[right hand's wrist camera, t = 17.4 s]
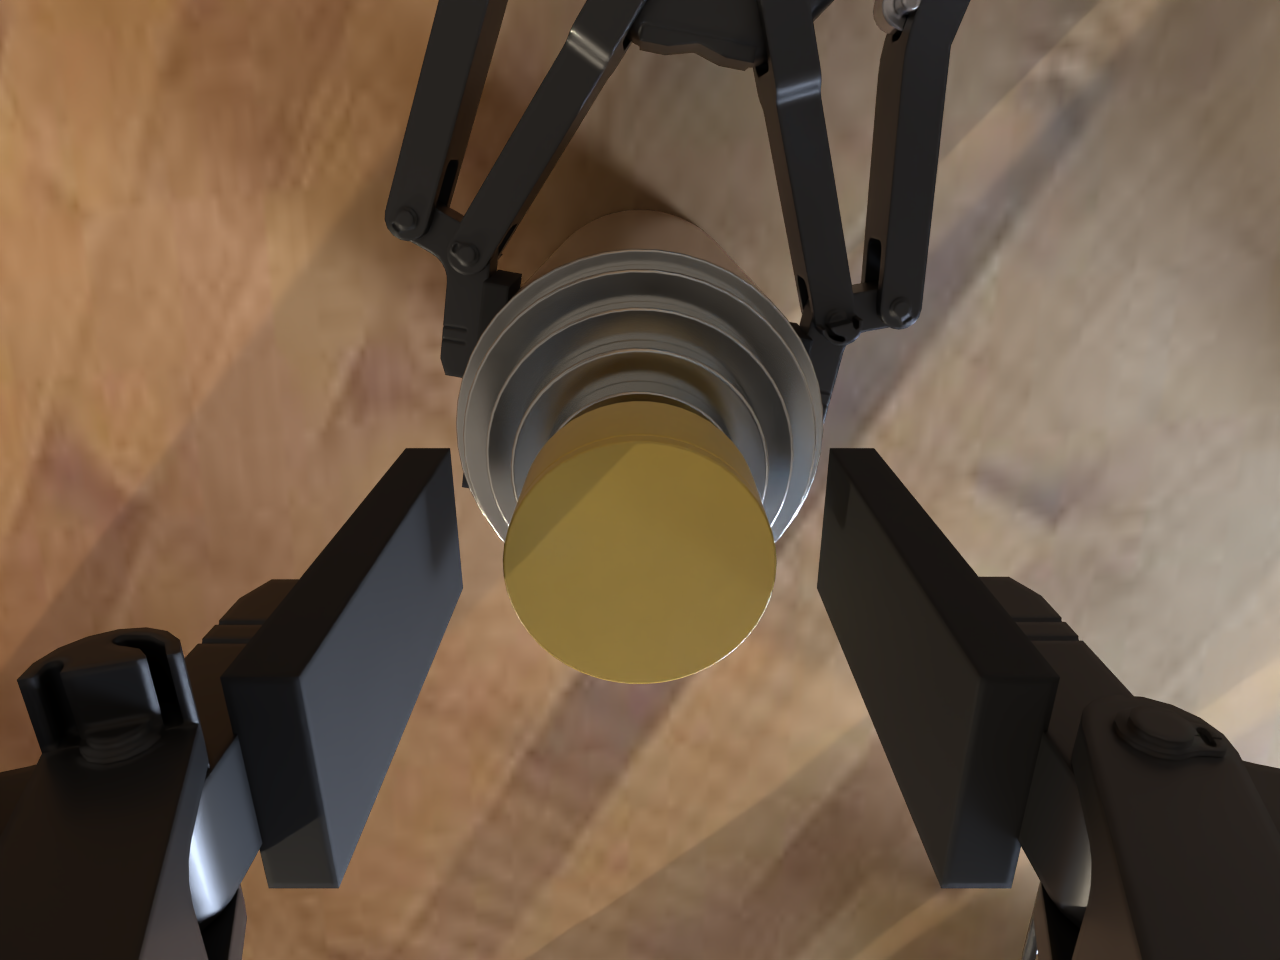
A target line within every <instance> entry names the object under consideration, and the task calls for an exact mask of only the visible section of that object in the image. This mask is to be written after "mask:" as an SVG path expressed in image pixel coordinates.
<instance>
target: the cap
mask: <svg viewBox="0 0 1280 960" xmlns="http://www.w3.org/2000/svg"><path fill="white" fill-rule="evenodd" d="M503 571H504V579H505V584H506V589H507V593H508V596H509V598H510V601H511V604H512V607H513V609H514V610H515V612H516V614H517V616H518V618H519V620H520V622H521V623H522V624H523V626H524V627H525V629H526V630H527V631H528V633H529V634H530V635H531V636H532V637H533V638H534V640H535V641H536V642H537V643H538V644H539V645H540V646H541V647H542V648H544V649H545V650H546V651H547V652H548V653H550V654H551V655H552V656H553V657H555V658H556V659H558V660H560V661H561V662H563V663H564V664H566V665H567V666H570V667H572V668H574V669H576V670H578V671H580V672H582V673H585V674H588V675H590V676H593V677H596V678H600V679H604V680H608V681H613V682H620V683H629V684H650V683H660V682H666V681H671V680H676V679H680V678H683V677H686V676H689V675H692V674H695V673H697V672H699V671H702V670H704V669H706V668H708V667H710V666H712V665H713V664H715V663H717V662H718V661H720V660H722V659H723V658H725V657H726V656H727V655H728V654H730V653H731V652H732V651H733V650H735V649H736V648H737V647H738V646H739V645H740V644H741V643H742V642H743V641H744V640H745V639H746V638H747V637H748V636H749V634H750V633H751V632H752V630H753V629H754V628H755V626H756V625H757V624H758V622H759V620H760V619H761V617H762V615H763V613H764V611H765V610H766V607H767V605H768V602H769V600H770V597H771V594H772V590H773V586H774V582H775V575H776V547H775V542H774V538H773V533H772V530H771V527H770V524H769V521H768V518H767V515H766V513H765V510H764V507H763V504H762V501H761V499H760V496H759V493H758V490H757V487H756V485H755V482H754V479H753V476H752V474H751V471H750V468H749V466H748V465H747V463H746V461H745V459H744V457H743V455H742V454H741V453H740V451H739V450H738V448H737V447H736V446H735V444H734V443H733V442H732V441H731V440H730V439H729V438H728V437H727V436H726V435H725V434H724V433H723V432H722V431H721V430H720V429H718V428H717V427H716V426H714V425H713V424H712V423H710V422H709V421H707V420H705V419H704V418H702V417H700V416H699V415H697V414H695V413H692V412H690V411H687V410H685V409H683V408H680V407H676V406H672V405H669V404H664V403H657V402H650V401H631V402H622V403H615V404H611V405H607V406H603V407H600V408H597V409H595V410H592V411H589V412H587V413H585V414H583V415H581V416H579V417H577V418H576V419H574V420H572V421H571V422H569V423H568V424H566V425H565V426H564V427H562V428H561V429H560V430H559V431H558V432H556V433H555V434H554V435H553V436H552V437H551V438H550V439H549V440H548V441H547V443H546V444H545V445H544V446H543V448H542V449H541V450H540V452H539V453H538V455H537V456H536V458H535V460H534V462H533V463H532V465H531V467H530V470H529V472H528V475H527V477H526V480H525V483H524V485H523V488H522V491H521V494H520V497H519V499H518V502H517V505H516V508H515V511H514V513H513V516H512V519H511V522H510V525H509V527H508V531H507V535H506V539H505V543H504V553H503Z"/></svg>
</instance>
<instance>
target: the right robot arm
mask: <svg viewBox="0 0 1280 960" xmlns="http://www.w3.org/2000/svg"><path fill="white" fill-rule="evenodd" d="M462 589H463V583H462V572H461V561H460V550H459V540H458V529H457V518H456V507H455V497H454V486H453V475H452V464H451V454H450V448H406V449H405V450H404V451H403V453H402V454H401V455H400V456H399V457H398V459H397V460H396V461H395V462H394V464H393V465H392V466H391V467H390V469H389V470H388V471H387V472H386V473H385V475H384V476H383V477H382V478H381V480H380V481H379V482H378V483H377V485H376V486H375V487H374V488H373V489H372V491H371V492H370V493H369V494H368V496H367V497H366V498H365V499H364V501H363V502H362V503H361V504H360V505H359V507H358V508H357V509H356V510H355V512H354V513H353V514H352V515H351V517H350V518H349V519H348V520H347V521H346V523H345V524H344V525H343V526H342V528H341V529H340V530H339V531H338V533H337V534H336V535H335V536H334V537H333V539H332V540H331V541H330V542H329V544H328V545H327V546H326V547H325V549H324V550H323V551H322V552H321V553H320V555H319V556H318V557H317V558H316V560H315V561H314V562H313V563H312V565H311V566H310V567H309V568H308V569H307V571H306V572H305V573H304V574H303V576H302V577H301V578H300V579H272V580H270V581H268V582H267V583H265V584H263V585H261V586H260V587H258V588H256V589H255V590H253V591H251V592H250V593H248V594H246V595H244V596H243V597H241V598H239V599H238V601H237V602H236V603H235V604H234V605H233V606H232V607H231V608H230V609H229V610H228V611H227V613H226V614H225V615H224V616H223V617H222V618H221V619H220V620H219V625H215V626H214V627H213V628H212V629H211V630H210V631H209V632H208V633H207V634H206V636H205V637H204V638H203V639H202V644H197V645H196V646H195V648H194V649H193V650H192V651H191V652H190V653H189V654H188V655H187V656H186V657H185V659H184V655H183V651H182V647H181V643H180V640H179V639H178V638H176V637H175V636H174V635H172V634H171V633H169V632H168V631H164V630H158V629H152V628H131V629H118V630H114V631H109V632H105V633H101V634H97V635H92V636H88V637H85V638H83V639H80V640H78V641H75V642H73V643H70V644H68V645H65V646H63V647H60V648H58V649H56V650H54V651H53V652H51V653H49V654H48V655H46V656H44V657H43V658H41V659H40V660H38V661H36V662H35V663H33V664H32V665H31V666H30V667H29V668H28V669H27V670H26V671H25V672H24V673H23V674H22V675H21V676H20V677H19V678H18V679H17V682H18V685H19V687H20V690H21V693H22V696H23V699H24V702H25V705H26V708H27V711H28V714H29V717H30V719H31V722H32V725H33V728H34V731H35V734H36V737H37V740H38V743H39V746H40V749H41V751H42V755H41V757H40V759H39V761H38V763H37V765H33V766H29V767H24V768H20V769H15V770H10V771H5V772H0V960H242V953H243V945H244V937H245V929H246V921H247V915H246V908H245V901H244V897H243V893H242V889H241V885H240V883H241V882H242V880H243V878H244V876H245V874H246V873H247V871H248V869H249V867H250V865H251V863H252V862H253V860H254V858H255V856H256V854H257V853H258V851H259V849H260V853H261V857H262V861H263V866H264V870H265V874H266V879H267V883H268V887H269V888H339V886H340V884H341V881H342V879H343V877H344V874H345V872H346V869H347V867H348V865H349V862H350V860H351V857H352V855H353V852H354V850H355V848H356V845H357V843H358V840H359V838H360V836H361V833H362V831H363V828H364V826H365V823H366V821H367V819H368V816H369V814H370V811H371V809H372V807H373V804H374V802H375V799H376V797H377V795H378V792H379V790H380V787H381V785H382V782H383V780H384V778H385V775H386V773H387V770H388V768H389V766H390V763H391V761H392V758H393V756H394V753H395V751H396V749H397V746H398V744H399V741H400V739H401V737H402V734H403V732H404V729H405V727H406V724H407V722H408V720H409V717H410V715H411V712H412V710H413V708H414V705H415V703H416V700H417V698H418V695H419V693H420V691H421V688H422V686H423V683H424V681H425V679H426V676H427V674H428V671H429V669H430V666H431V664H432V662H433V659H434V657H435V654H436V652H437V650H438V647H439V645H440V642H441V640H442V637H443V635H444V633H445V630H446V628H447V625H448V623H449V621H450V618H451V616H452V613H453V611H454V608H455V606H456V604H457V601H458V599H459V596H460V594H461V592H462ZM817 589H818V592H819V594H820V596H821V599H822V601H823V604H824V606H825V608H826V611H827V613H828V616H829V618H830V621H831V623H832V625H833V628H834V630H835V633H836V635H837V637H838V640H839V642H840V645H841V647H842V650H843V652H844V654H845V657H846V659H847V662H848V664H849V666H850V669H851V671H852V674H853V676H854V679H855V681H856V683H857V686H858V688H859V691H860V693H861V695H862V698H863V700H864V703H865V705H866V708H867V710H868V712H869V715H870V717H871V720H872V722H873V724H874V727H875V729H876V732H877V734H878V737H879V739H880V741H881V744H882V746H883V749H884V751H885V753H886V756H887V758H888V761H889V763H890V766H891V768H892V770H893V773H894V775H895V778H896V780H897V782H898V785H899V787H900V790H901V792H902V795H903V797H904V799H905V802H906V804H907V807H908V809H909V811H910V814H911V816H912V819H913V821H914V823H915V826H916V828H917V831H918V833H919V836H920V838H921V840H922V843H923V845H924V848H925V850H926V852H927V855H928V857H929V860H930V862H931V865H932V867H933V869H934V872H935V874H936V877H937V879H938V881H939V884H940V886H941V888H1011V887H1012V883H1013V879H1014V874H1015V870H1016V866H1017V861H1018V857H1019V853H1020V848H1021V847H1022V848H1023V850H1024V852H1025V854H1026V856H1027V857H1028V859H1029V861H1030V863H1031V865H1032V866H1033V868H1034V870H1035V872H1036V874H1037V875H1038V877H1039V879H1040V885H1039V889H1038V893H1037V897H1036V901H1035V905H1034V909H1033V913H1032V917H1031V921H1030V925H1029V929H1028V933H1027V937H1026V941H1025V945H1024V949H1023V954H1022V960H1035V958H1036V954H1037V953H1038V959H1039V960H1280V769H1279V768H1274V767H1269V766H1264V765H1259V764H1254V763H1250V762H1246V761H1242V759H1241V757H1240V755H1239V753H1238V752H1237V751H1236V749H1235V748H1234V747H1233V746H1232V744H1231V743H1230V742H1229V741H1228V739H1227V738H1226V737H1225V736H1224V734H1222V733H1221V732H1219V731H1218V730H1217V729H1215V728H1214V727H1212V726H1211V725H1209V724H1208V723H1207V722H1205V721H1204V720H1202V719H1201V718H1199V717H1197V716H1195V715H1193V714H1191V713H1188V712H1186V711H1184V710H1182V709H1180V708H1178V707H1175V706H1173V705H1170V704H1167V703H1163V702H1159V701H1156V700H1152V699H1148V698H1145V697H1137V696H1133V695H1132V694H1131V693H1130V692H1129V691H1128V689H1127V688H1126V687H1125V686H1124V685H1123V684H1122V683H1121V682H1120V681H1119V680H1118V679H1117V677H1116V676H1115V675H1114V674H1113V673H1112V672H1111V671H1110V670H1109V669H1108V668H1107V667H1106V666H1105V664H1104V663H1103V662H1102V661H1101V660H1100V659H1099V658H1098V657H1097V656H1096V655H1095V654H1094V653H1093V651H1092V650H1091V649H1090V648H1089V647H1088V646H1087V645H1086V644H1085V643H1084V642H1083V641H1079V640H1078V635H1077V634H1076V633H1075V632H1074V631H1073V630H1072V629H1071V628H1070V626H1069V625H1068V624H1067V623H1066V622H1062V621H1061V617H1060V616H1059V615H1058V613H1057V612H1056V611H1055V610H1054V609H1053V608H1052V607H1051V606H1050V605H1049V604H1048V603H1047V601H1046V600H1045V599H1044V598H1043V597H1042V596H1041V595H1039V594H1037V593H1036V592H1034V591H1032V590H1031V589H1029V588H1027V587H1025V586H1024V585H1022V584H1020V583H1019V582H1017V581H1015V580H1013V579H1012V578H1010V577H978V576H977V574H976V573H975V572H974V571H973V569H972V568H971V567H970V566H969V565H968V563H967V562H966V561H965V560H964V558H963V557H962V556H961V555H960V553H959V552H958V551H957V550H956V549H955V547H954V546H953V545H952V544H951V542H950V541H949V540H948V539H947V537H946V536H945V535H944V534H943V533H942V531H941V530H940V529H939V528H938V526H937V525H936V524H935V523H934V521H933V520H932V519H931V518H930V517H929V515H928V514H927V513H926V512H925V510H924V509H923V508H922V507H921V505H920V504H919V503H918V502H917V501H916V499H915V498H914V497H913V496H912V494H911V493H910V492H909V491H908V489H907V488H906V487H905V486H904V485H903V483H902V482H901V481H900V480H899V478H898V477H897V476H896V475H895V473H894V472H893V471H892V470H891V469H890V467H889V466H888V465H887V464H886V462H885V461H884V460H883V459H882V457H881V456H880V455H879V454H878V453H877V451H876V450H875V449H874V448H830V454H829V464H828V475H827V486H826V497H825V507H824V518H823V529H822V540H821V550H820V561H819V572H818V583H817Z"/></svg>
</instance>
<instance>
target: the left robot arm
mask: <svg viewBox="0 0 1280 960" xmlns="http://www.w3.org/2000/svg"><path fill="white" fill-rule="evenodd" d="M833 1H834V0H587V1H586V3H585V5H584V6H583V8H582V10H581V11H580V13H579V15H578V17H577V18H576V20H575V22H574V24H573V26H572V28H571V30H570V32H569V35H568V38H567V40H566V42H565V44H564V46H563V48H562V50H561V51H560V53H559V55H558V56H557V58H556V60H555V61H554V63H553V65H552V67H551V68H550V70H549V72H548V73H547V75H546V77H545V79H544V80H543V82H542V84H541V85H540V87H539V89H538V91H537V92H536V94H535V96H534V97H533V99H532V101H531V103H530V104H529V106H528V108H527V109H526V111H525V113H524V114H523V116H522V118H521V120H520V121H519V123H518V125H517V126H516V128H515V130H514V132H513V133H512V135H511V137H510V138H509V140H508V142H507V144H506V145H505V147H504V149H503V150H502V152H501V154H500V156H499V157H498V159H497V161H496V162H495V164H494V166H493V168H492V169H491V171H490V173H489V174H488V176H487V178H486V179H485V181H484V183H483V185H482V186H481V188H480V190H479V191H478V193H477V195H476V197H475V198H474V200H473V202H472V203H471V205H470V207H469V209H468V210H467V212H466V214H465V215H464V216H463V215H462V214H460V213H458V212H456V211H455V210H453V209H451V208H450V204H451V200H452V197H453V193H454V190H455V186H456V183H457V179H458V176H459V172H460V169H461V165H462V161H463V158H464V154H465V151H466V147H467V144H468V140H469V137H470V133H471V130H472V126H473V123H474V119H475V115H476V112H477V108H478V105H479V101H480V98H481V94H482V91H483V87H484V84H485V80H486V77H487V73H488V69H489V66H490V62H491V59H492V55H493V52H494V48H495V45H496V41H497V38H498V34H499V31H500V27H501V23H502V20H503V16H504V13H505V9H506V6H507V2H508V0H439V2H438V6H437V10H436V14H435V18H434V22H433V26H432V30H431V34H430V37H429V41H428V45H427V49H426V53H425V57H424V61H423V65H422V69H421V73H420V77H419V81H418V85H417V88H416V92H415V96H414V100H413V104H412V108H411V112H410V116H409V120H408V124H407V128H406V132H405V136H404V139H403V143H402V147H401V151H400V155H399V159H398V163H397V167H396V171H395V175H394V179H393V183H392V187H391V190H390V194H389V198H388V202H387V206H386V210H385V222H386V225H387V228H388V229H389V231H390V232H391V233H392V234H393V235H394V236H395V237H397V238H399V239H400V240H405V241H411V242H412V243H414V244H416V245H418V246H420V247H421V248H423V249H425V250H427V251H428V252H430V253H432V254H433V255H434V256H436V257H437V258H438V259H439V260H440V261H441V262H442V264H443V266H444V268H445V271H446V274H447V289H446V300H445V312H444V323H443V325H444V327H443V335H442V347H441V361H442V365H443V368H444V371H445V375H449V376H455V377H461V378H463V375H464V372H465V370H466V367H467V364H468V361H469V358H470V356H471V354H472V352H473V350H474V348H475V346H476V344H477V342H478V341H479V339H480V337H481V335H482V333H483V332H484V331H485V329H486V328H487V326H488V325H489V324H490V322H491V321H492V320H493V318H494V317H495V315H496V314H497V313H498V312H499V311H500V310H501V309H502V308H503V307H504V306H505V304H506V303H507V302H508V301H509V300H510V299H511V298H512V297H513V296H514V295H515V294H516V293H517V292H518V291H519V289H520V285H521V277H522V274H519V273H513V272H507V271H502V270H498V271H497V263H498V259H499V258H500V257H501V256H502V255H503V254H501V253H502V251H503V250H504V248H505V246H506V245H507V243H508V241H509V240H510V238H511V237H512V235H513V233H514V232H515V230H516V228H517V227H518V225H519V223H520V222H521V220H522V219H523V217H524V215H525V214H526V212H527V210H528V209H529V207H530V205H531V204H532V202H533V201H534V199H535V197H536V196H537V194H538V192H539V191H540V189H541V187H542V186H543V184H544V183H545V181H546V179H547V178H548V176H549V174H550V173H551V171H552V169H553V168H554V166H555V165H556V163H557V161H558V160H559V158H560V156H561V155H562V153H563V151H564V150H565V148H566V147H567V145H568V143H569V142H570V140H571V138H572V137H573V135H574V133H575V132H576V130H577V129H578V127H579V125H580V124H581V122H582V120H583V119H584V117H585V115H586V114H587V112H588V111H589V109H590V107H591V106H592V104H593V102H594V101H595V99H596V97H597V96H598V94H599V93H600V91H601V89H602V88H603V86H604V84H605V83H606V81H607V80H608V78H609V77H610V76H611V74H612V73H613V72H614V70H615V69H616V67H617V66H618V64H619V62H620V61H621V59H622V58H623V56H624V54H625V53H626V51H627V49H628V48H629V46H630V44H631V43H632V42H633V43H635V44H636V45H638V46H640V50H642V51H647V52H652V53H657V54H662V55H672V54H682V53H696V54H698V55H700V56H702V57H704V58H705V59H707V60H709V61H711V62H713V63H715V64H717V65H719V66H723V67H728V68H733V69H738V70H743V71H745V70H746V69H747V68H750V67H753V71H754V76H755V82H756V87H757V92H758V97H759V100H760V103H761V105H762V108H763V111H764V116H765V121H766V126H767V132H768V137H769V142H770V148H771V153H772V158H773V164H774V169H775V174H776V180H777V185H778V190H779V196H780V201H781V206H782V212H783V217H784V222H785V227H786V233H787V238H788V243H789V249H790V254H791V259H792V265H793V270H794V275H795V281H796V286H797V291H798V297H799V302H800V307H801V312H802V318H801V322H800V326H799V325H798V324H797V323H792V322H790V324H791V325H792V327H793V328H794V330H795V331H796V333H797V334H798V336H799V337H800V339H801V341H802V343H803V345H804V347H805V349H806V351H807V353H808V355H809V357H810V359H811V361H812V364H813V368H814V371H815V374H816V377H817V380H818V383H819V389H820V394H821V400H822V406H823V424H824V421H825V417H826V413H827V410H828V405H829V402H830V399H831V393H832V391H833V388H834V384H835V380H836V377H837V373H838V369H839V366H840V362H841V358H842V355H843V352H844V349H845V347H846V345H848V344H850V343H852V342H854V341H855V340H856V339H857V338H858V337H859V336H860V333H862V332H866V331H871V330H877V329H882V328H888V327H891V328H894V329H904V328H907V327H909V326H911V325H912V324H914V323H915V321H916V320H917V319H918V317H919V315H920V312H921V309H922V300H923V291H924V282H925V273H926V264H927V255H928V246H929V237H930V228H931V219H932V210H933V201H934V192H935V183H936V174H937V165H938V156H939V147H940V138H941V129H942V120H943V111H944V102H945V93H946V84H947V75H948V66H949V57H950V48H951V44H952V42H953V39H954V37H955V35H956V32H957V30H958V28H959V25H960V23H961V21H962V19H963V16H964V14H965V12H966V9H967V7H968V5H969V2H970V0H875V2H874V9H873V15H874V20H875V22H876V25H877V26H878V27H879V28H880V30H882V31H884V32H885V33H887V36H886V39H885V42H884V46H883V50H882V54H881V59H880V66H879V73H878V83H877V95H876V108H875V120H874V132H873V144H872V156H871V168H870V180H869V192H868V205H867V217H866V229H865V241H864V253H863V265H862V277H861V283H860V284H855V285H852V284H851V278H850V272H849V266H848V260H847V253H846V247H845V241H844V235H843V229H842V223H841V217H840V210H839V204H838V198H837V192H836V186H835V180H834V174H833V168H832V161H831V155H830V149H829V143H828V137H827V131H826V125H825V118H824V112H823V106H822V100H821V68H820V62H819V55H818V49H817V43H816V37H815V31H814V24H813V21H814V20H815V19H816V18H817V17H818V16H819V15H820V14H821V13H822V12H823V11H824V10H825V9H826V8H827V7H828V6H829V5H830V4H831V3H832V2H833ZM462 487H465V488H469V486H468V483H467V480H466V477H465V474H464V473H463V483H462Z"/></svg>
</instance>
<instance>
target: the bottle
mask: <svg viewBox="0 0 1280 960" xmlns="http://www.w3.org/2000/svg"><path fill="white" fill-rule="evenodd" d="M631 401H650V402H657V403H664V404H669V405H672V406H676V407H680V408H683V409H685V410H687V411H690V412H692V413H695V414H697V415H699V416H700V417H702V418H704V419H705V420H707V421H709V422H710V423H712V424H713V425H714V426H716V427H717V428H718V429H720V430H721V431H722V432H723V433H724V434H725V435H726V436H727V437H728V438H729V439H730V440H731V441H732V442H733V443H734V444H735V446H736V447H737V448H738V450H739V451H740V453H741V454H742V455H743V457H744V459H745V461H746V463H747V465H748V466H749V468H750V471H751V474H752V476H753V479H754V482H755V485H756V487H757V490H758V493H759V496H760V499H761V501H762V504H763V507H764V510H765V513H766V515H767V518H768V521H769V524H770V527H771V530H772V533H773V538H774V542H775V543H776V541H777V540H778V539H779V538H780V536H781V535H782V534H783V532H784V531H785V530H786V528H787V527H788V526H789V524H790V523H791V521H792V520H793V519H794V517H795V516H796V515H797V513H798V511H799V509H800V507H801V506H802V504H803V502H804V500H805V498H806V497H807V495H808V492H809V489H810V487H811V484H812V482H813V479H814V477H815V474H816V470H817V466H818V462H819V458H820V454H821V447H822V438H823V406H822V400H821V394H820V389H819V383H818V380H817V377H816V374H815V371H814V368H813V364H812V361H811V359H810V357H809V355H808V353H807V351H806V349H805V347H804V345H803V343H802V341H801V339H800V337H799V336H798V334H797V333H796V331H795V330H794V328H793V327H792V325H791V324H790V322H789V321H788V320H787V318H786V317H785V316H784V315H783V314H782V313H781V312H780V311H779V309H778V308H777V307H776V306H775V305H774V304H773V303H772V302H771V301H770V299H769V298H768V297H767V296H766V295H765V294H764V293H763V292H762V291H761V290H760V289H759V288H758V287H757V285H756V284H755V283H754V282H753V281H752V280H751V279H750V278H749V277H748V276H747V275H746V274H745V273H744V271H743V270H742V269H741V268H740V267H739V266H738V265H737V264H736V263H735V262H734V261H733V260H732V259H731V257H730V256H729V255H728V254H727V253H726V252H725V251H724V250H723V249H722V248H721V247H720V246H719V245H718V243H717V242H716V241H715V240H714V239H713V238H711V237H710V236H709V235H708V234H707V233H706V232H704V231H703V230H702V229H700V228H699V227H697V226H695V225H694V224H692V223H691V222H689V221H686V220H684V219H682V218H680V217H678V216H675V215H671V214H668V213H665V212H659V211H653V210H627V211H619V212H616V213H612V214H608V215H605V216H603V217H600V218H598V219H595V220H593V221H591V222H589V223H588V224H586V225H584V226H583V227H581V228H579V229H578V230H577V231H576V232H574V233H573V234H572V235H571V236H569V237H568V238H567V239H566V240H565V241H564V242H563V243H562V244H561V246H560V247H559V248H558V249H557V250H556V251H555V252H554V253H553V254H552V255H551V256H550V257H549V258H548V259H547V260H546V262H545V263H544V264H543V265H542V266H541V267H540V268H539V269H538V270H537V271H536V272H535V273H534V274H533V276H532V277H531V278H530V279H529V280H528V281H527V282H526V283H525V284H524V285H523V286H522V287H521V288H520V289H519V291H518V292H517V293H516V294H515V295H514V296H513V297H512V298H511V299H510V300H509V301H508V302H507V303H506V304H505V306H504V307H503V308H502V309H501V310H500V311H499V312H498V313H497V314H496V315H495V317H494V318H493V320H492V321H491V322H490V324H489V325H488V326H487V328H486V329H485V331H484V332H483V333H482V335H481V337H480V339H479V341H478V342H477V344H476V346H475V348H474V350H473V352H472V354H471V356H470V358H469V361H468V364H467V367H466V370H465V372H464V375H463V378H462V383H461V387H460V392H459V397H458V404H457V419H456V429H457V443H458V450H459V455H460V459H461V464H462V469H463V472H464V474H465V477H466V480H467V483H468V486H469V489H470V491H471V493H472V495H473V497H474V499H475V501H476V503H477V505H478V507H479V508H480V510H481V512H482V513H483V515H484V516H485V517H486V519H487V520H488V522H489V523H490V525H491V526H492V528H493V529H494V530H495V532H496V533H497V535H498V536H499V537H500V538H501V539H502V540H503V542H504V543H505V539H506V535H507V531H508V527H509V525H510V522H511V519H512V516H513V513H514V511H515V508H516V505H517V502H518V499H519V497H520V494H521V491H522V488H523V485H524V483H525V480H526V477H527V475H528V472H529V470H530V467H531V465H532V463H533V462H534V460H535V458H536V456H537V455H538V453H539V452H540V450H541V449H542V448H543V446H544V445H545V444H546V443H547V441H548V440H549V439H550V438H551V437H552V436H553V435H554V434H555V433H556V432H558V431H559V430H560V429H561V428H562V427H564V426H565V425H566V424H568V423H569V422H571V421H572V420H574V419H576V418H577V417H579V416H581V415H583V414H585V413H587V412H589V411H592V410H595V409H597V408H600V407H603V406H607V405H611V404H615V403H622V402H631Z"/></svg>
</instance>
